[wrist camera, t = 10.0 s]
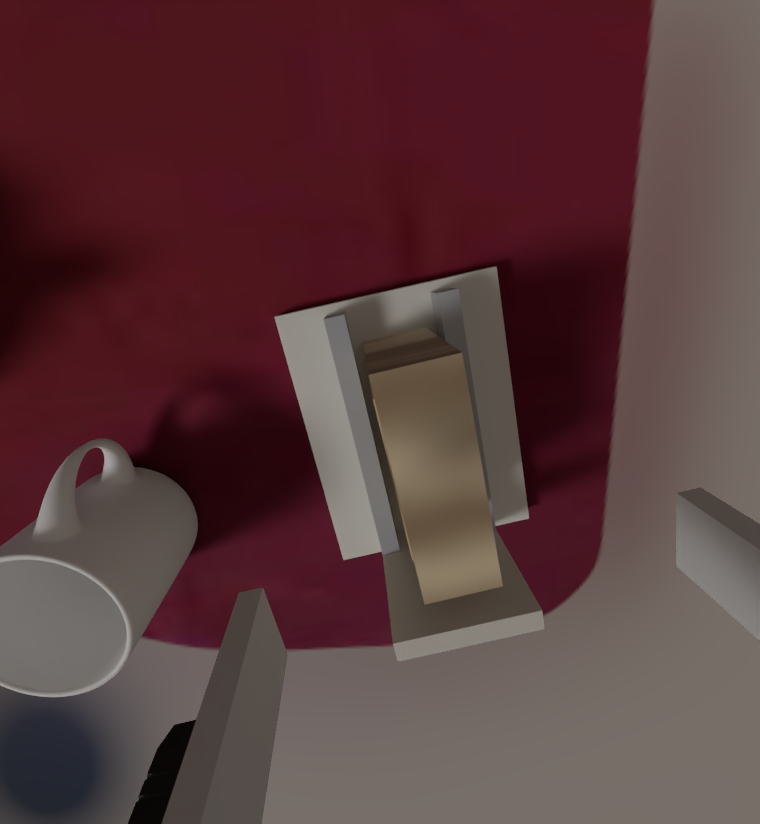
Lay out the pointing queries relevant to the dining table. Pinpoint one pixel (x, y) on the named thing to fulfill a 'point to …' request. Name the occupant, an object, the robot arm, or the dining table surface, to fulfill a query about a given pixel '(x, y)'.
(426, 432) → the door panel
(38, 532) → the mug
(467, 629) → the white stand
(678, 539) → the robot arm
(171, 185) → the dining table surface
